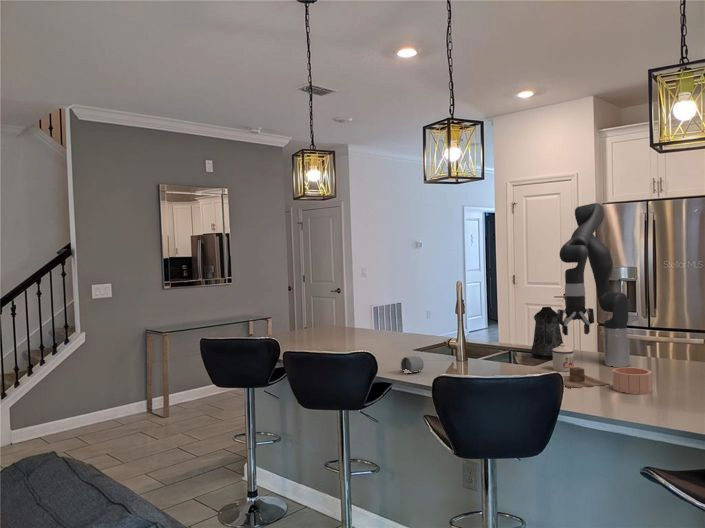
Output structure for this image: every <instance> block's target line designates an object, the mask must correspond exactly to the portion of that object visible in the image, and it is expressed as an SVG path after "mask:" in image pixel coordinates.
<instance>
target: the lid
mask: <svg viewBox="0 0 705 528" xmlns="http://www.w3.org/2000/svg"><path fill="white" fill-rule="evenodd" d="M563 378H564V385H565V387H564V388H566V387H568V388H567V389H569V388H570V389H569V390H572V389H571V388H577V389H583V388H582V387H587V388H595V387H594V386H598V387H606V386H605V385H609V386H611V385H610V383H608V382H605V381H602V380H600V379H597V378H594V377H592V376H588V375H587V374H585V368H583V367H579V366H574V368H570V372H569V375H563Z"/></svg>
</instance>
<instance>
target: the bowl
mask: <svg viewBox="0 0 705 528" xmlns="http://www.w3.org/2000/svg"><path fill="white" fill-rule="evenodd" d="M611 373H612V389H613V390H614V391H616V390H617V392H618V393H623V392H625V393H626V394H629V393H630V394H632V395H634V394H635V395H645V394H651V393H653V372H652V371H651V370H650V369H647V368H640V367H632V366H631V367H630V366H626V367H614V368H613V369H612V372H611Z"/></svg>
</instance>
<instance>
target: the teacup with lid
mask: <svg viewBox="0 0 705 528" xmlns="http://www.w3.org/2000/svg"><path fill="white" fill-rule="evenodd" d="M552 352H553V360H552V370H554V371H555V372H560V371H570V368H574V367H575V365H574V361H575V354H574V349H573V348H571V347H568V346H566V344H565V343H563V344H560V346H558V347H556V348H553V349H552Z"/></svg>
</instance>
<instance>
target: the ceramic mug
mask: <svg viewBox="0 0 705 528" xmlns="http://www.w3.org/2000/svg"><path fill="white" fill-rule="evenodd" d="M423 368H424V361H423V359H422V358H421V357H419V356H416V355H415V356H405V357H403V358H402V359H401V361H400V370H401V369H402V370H405V369H407V370H409V371H410V372H414V371H419V370H422V371H423V370H424V369H423ZM402 370H401V371H402Z"/></svg>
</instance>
